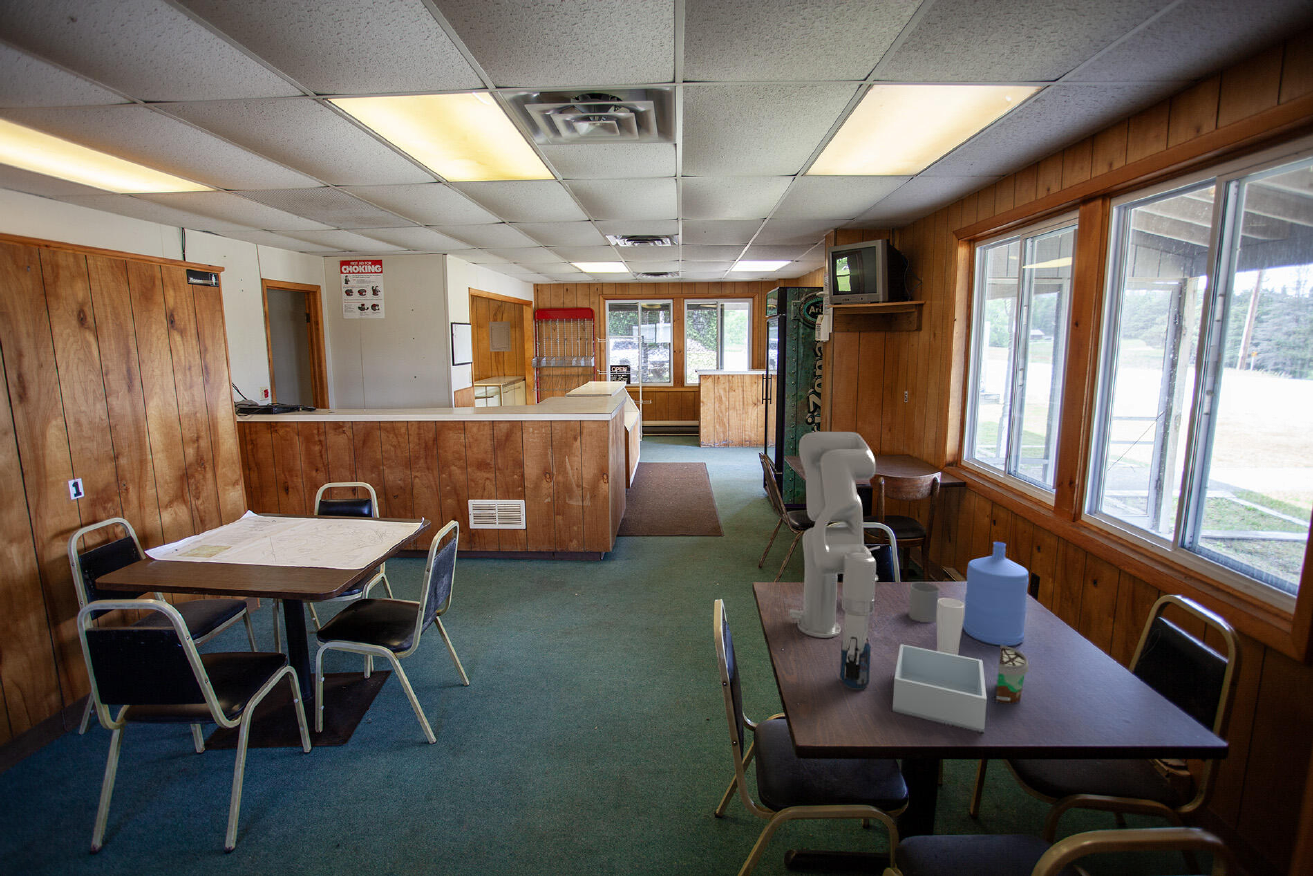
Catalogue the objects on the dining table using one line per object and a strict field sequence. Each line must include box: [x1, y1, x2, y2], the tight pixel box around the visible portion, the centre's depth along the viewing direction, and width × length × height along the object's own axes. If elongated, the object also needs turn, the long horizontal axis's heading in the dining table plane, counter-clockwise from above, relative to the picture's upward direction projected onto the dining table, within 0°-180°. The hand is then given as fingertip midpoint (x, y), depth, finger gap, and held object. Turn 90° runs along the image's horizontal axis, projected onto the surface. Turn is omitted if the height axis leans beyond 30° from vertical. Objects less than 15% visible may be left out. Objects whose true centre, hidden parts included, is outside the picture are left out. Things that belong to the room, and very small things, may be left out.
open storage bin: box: [892, 643, 987, 732], centre depth 140 cm, size 19×19×8 cm
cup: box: [908, 581, 940, 623], centre depth 186 cm, size 8×8×10 cm
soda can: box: [839, 637, 872, 691], centre depth 147 cm, size 7×7×12 cm
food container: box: [995, 645, 1030, 704], centre depth 142 cm, size 12×6×10 cm, turn 148°
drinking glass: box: [936, 597, 965, 655], centre depth 162 cm, size 7×7×15 cm
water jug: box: [962, 541, 1029, 647], centre depth 173 cm, size 16×16×28 cm
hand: (855, 668), depth 147 cm, fingers open, 9 cm apart
